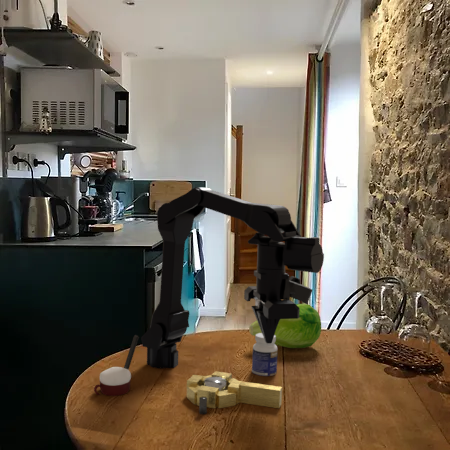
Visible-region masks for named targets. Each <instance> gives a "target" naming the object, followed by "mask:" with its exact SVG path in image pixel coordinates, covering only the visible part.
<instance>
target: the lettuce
mask: <svg viewBox="0 0 450 450" xmlns="http://www.w3.org/2000/svg"><path fill="white" fill-rule="evenodd" d="M295 304H296V305H297V306H298V307H299V308H300V310H299V318H298V319H280V321H279V323H278V326H277V328H276V331H275V334H274V335H275V336H276V341H275V343H274V344H275V345H276V346H280V347H284V348H290V349H305V348H309V347H312V346H313V345H314V344H315V343H316V342H317V341H318V340H319V338H320V337H321V334H322V321H321V316H320V314H319V312H318V311H317V310H316V308H314V307H313V306H311V304H305V303H295ZM248 328H249V329H248V331H249V335H251V336H253V337H255V335H256V334H258V333H262V332H261V329H260V326H259V324H258V321H257V319H256V320H255V321H254V322H252V323H250V325H249V327H248Z"/></svg>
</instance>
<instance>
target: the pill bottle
mask: <svg viewBox="0 0 450 450" xmlns="http://www.w3.org/2000/svg"><path fill="white" fill-rule="evenodd" d="M254 339H255V343H254V344H253V346H252V358H251V359H252V361H251V373H252V374H253V375H255V376H256V375H257V376H261V377H271V376H275V375H277V373H278V372H277V371H278V345H275V344H274V343H275V341H276V336H275V335H274V337H273V340H272V343H268V344H267V343H266V342H265V339H264V337H263V334H262V333H258V334H256V335H255V336H254Z"/></svg>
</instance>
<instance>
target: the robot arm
mask: <svg viewBox="0 0 450 450" xmlns="http://www.w3.org/2000/svg"><path fill="white" fill-rule="evenodd" d="M205 209H208V210H211V211H213V212H216V213H220V214H222V215H226V216H228V217H231V218H234V219H237V220H240V221H242V222H243V223H244V224H245V225H247V227H248V228H250V229H252V230H254V231H255V234H254V235H253V236H252V237H251V238H250V239H248V240H247V243H248V244H250V245H257V254H256V255H257V257H256V270H253V276H254V277H256V282H255V283H256V284H255V285H256V286H255V285H254V286H253V285H249V286H247V287H246V288H245V289H244V293H243V294H244V295H243V296H244V298H243V300H245V301H247V302H251V299H252V300H253V299H254V302H255V305H251V309H252V312H253V314H254V315H255V316H254V317H255V319H256V320H257V321H258V324H259V326H260V329H261V332H262V334H263V337H264V339H265V342H266V343H267V344H268V343H272V340H273V337H274V334H275V331H276V328H277V326H278V323H279V321H280V319H298V318H299V310H300V308H299V307H298V306H297V305H296V304H297V303H295V302H293V301H292V300H290V298H292V299H294V300H297V301H300V302H302V304H308V303H309V301H310V298H311V295H312V293H313V291H314V290H313V289H312V288H309V287H308V286H306V285H303V284H301V279H300V278H298V277H296V276H293V275H291V276H290V275H289V274H288V273H286V268H287V269H288V270H289V271H290V270H291V271H296V272H307V273H314V274H319V272H320V271H321V270H322V268H323V265H324V260H325V259H324V258H325V253H324V252H323V247H322V245H321V244H320V237H317V236H312V237H311V236H310V237H304V236H302V235H301V234H300V232H299V230H298V229H297V227H296V226H295V224H294V222H293V221H292V217H291V213H290V211H289V209H288V208H287V207H285V206H284V205H280V204H279V205H277V204H269V203H254V202H251V201H247V200H244V199H242V198H238V197H235V196H231V195H228V194H225V193H223V192H219V191H216V190H212V189H211V188H209V187H206V186H204V187H202V186H201V187H200V186H198V187H194V188H191V189H190V190H188V192H186V193H185V194H183V195H180V196H178V197H175V198H174V199H172V200H170V201H169V202H165V203H163V204H161V206H160V207H158V209H157V211H156V218H157V219H156V220H157V221H156V222H157V230H158V233H159V234H160V236H161V238H162V242H163V244H162V261H161V275H160V277H161V278H160V288H159V289H160V291H159V303H158V304H157V306H156V308H155V310H154V311H153V313H152V316H151V320H150V327H149V329H147V330H146V331H145V332H144V334H143V335H142V336H141V337H140V340H141V341H140V342H141V345H142V347H145V348H146V366H150V367H151V368H155V369H175V368H176V367H177V366H178V365H179V350H178V349H177V348H178V347H177V343H180V342H182V338H183V337H184V335H185V334H186V332H187V329H188V328H189V327H190V324H189V318H190V310H186V309H185V308H184V306H183V304H182V293H183V292H182V290H183V277H184V276H183V275H184V263H185V262H184V261H185V259H184V258H185V245H186V241H187V239H188V237H190V234H191V232H192V230H193V225H194V220H195V219H196V218H197V217H198V216H200V215H201V214H202V213H203V212H204V211H205ZM308 305H309V304H308Z"/></svg>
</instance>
